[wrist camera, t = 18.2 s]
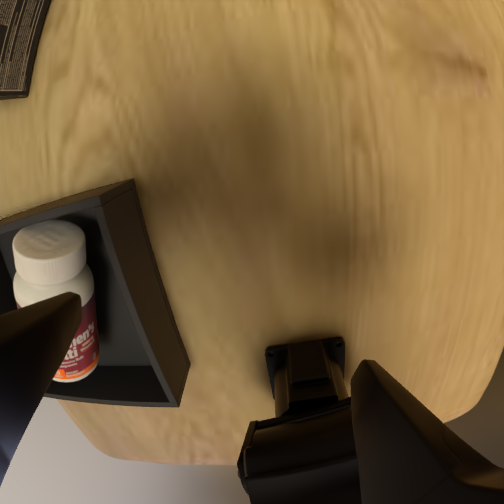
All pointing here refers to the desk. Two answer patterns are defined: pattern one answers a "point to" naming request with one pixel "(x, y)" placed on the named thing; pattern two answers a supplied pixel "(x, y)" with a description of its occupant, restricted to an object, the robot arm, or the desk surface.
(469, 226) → the desk surface
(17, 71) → the small box
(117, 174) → the desk surface
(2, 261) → the bin
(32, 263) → the pill bottle
